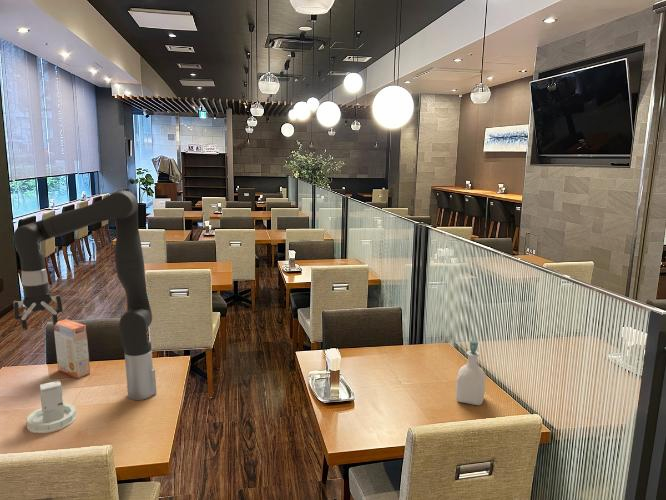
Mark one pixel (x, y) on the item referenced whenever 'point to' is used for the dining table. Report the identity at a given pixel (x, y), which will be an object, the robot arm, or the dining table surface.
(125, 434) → the dining table surface
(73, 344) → the cracker box
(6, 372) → the dining table surface
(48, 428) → the dish
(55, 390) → the skincare box
